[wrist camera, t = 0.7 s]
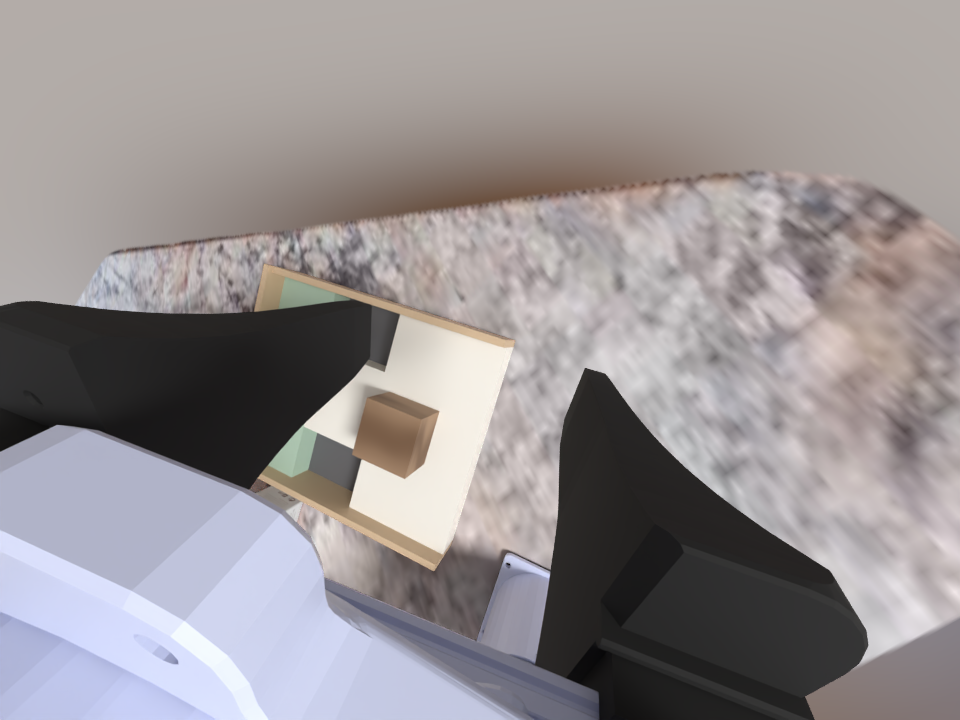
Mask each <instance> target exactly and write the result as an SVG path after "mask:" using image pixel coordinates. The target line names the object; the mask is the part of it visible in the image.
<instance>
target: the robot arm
mask: <svg viewBox="0 0 960 720" xmlns="http://www.w3.org/2000/svg"><path fill="white" fill-rule="evenodd" d="M371 317H372V305H370V304H366V303H363V302H359V301H356V300H345V301H335V302H327V303H320V304H313V305H306V306H299V307H291V308H283V309H274V310H266V311H256V312H244V313H224V314H167V313H147V312H132V311H118V310H107V309H97V308H89V307H80V306H71V305H63V304H55V303H47V302H40V301H25V302H15V303H11V304H7V305H3V306H0V720H814V717H813V715H812V712H811V710H810V708H809V705H808V703H807V700H806V698H805V696H807V695H808V694H810V693H812V692H814V691H816V690H818V689H819V688H821V687H823V686H825V685H827V684H828V683H830V682H832V681H834V680H836V679H838V678H839V677H841V676H843V675H845V674H846V673H848V672H849V671H850V670H851V669H853V668H854V667H855V666H857V665H858V664H859V663H860V661H861V660H862V658H863V656H864V654H865V652H866V650H867V647H868V639H867V632H866V629H865V627H864V626H863V624H862V623H861V621H860V619H859V618H858V616H857V614H856V613H855V611H854V609H853V608H852V606H851V604H850V603H849V601H848V599H847V598H846V596H845V595H844V593H843V591H842V590H841V588H840V586H839V585H838V583H837V581H836V580H835V578H834V576H833V575H832V573H831V572H830V571H829V570H828V569H826V568H825V567H823V566H822V565H820V564H818V563H817V562H815V561H814V560H812V559H811V558H809V557H807V556H806V555H804V554H803V553H801V552H800V551H798V550H796V549H795V548H793V547H792V546H790V545H789V544H787V543H785V542H784V541H782V540H781V539H779V538H778V537H776V536H774V535H773V534H771V533H770V532H768V531H767V530H765V529H764V528H762V527H761V526H760V525H758V524H757V523H755V522H754V521H753V520H751V519H750V518H748V517H747V516H746V515H744V514H743V513H741V512H740V511H739V510H737V509H736V508H734V507H733V506H732V505H730V504H729V503H728V502H727V501H725V500H724V499H723V498H721V497H720V496H719V495H717V494H716V493H715V492H714V491H712V490H711V489H710V488H709V487H708V486H706V485H705V484H704V483H703V482H702V481H700V480H699V479H698V478H697V477H696V476H694V475H693V474H692V473H691V472H690V471H689V470H688V469H686V468H685V467H684V466H683V465H682V464H681V463H680V462H679V461H678V460H677V459H676V458H675V457H674V456H673V455H672V454H671V453H670V452H669V451H668V450H667V449H665V448H664V447H663V446H662V444H661V443H660V442H659V441H658V440H657V439H656V438H655V437H654V436H653V435H652V434H651V432H650V431H649V430H648V429H647V428H646V427H645V425H644V424H643V423H642V422H641V421H640V419H639V418H638V417H637V416H636V415H635V413H634V412H633V411H632V409H631V408H630V407H629V405H628V404H627V403H626V401H625V400H624V399H623V397H622V396H621V394H620V393H619V392H618V390H617V389H616V387H615V386H614V385H613V383H612V382H611V381H610V379H609V378H608V377H607V375H606V374H604V373H601V372H597V371H594V370H591V369H587V368H585V370H584V372H583V374H582V377H581V379H580V382H579V384H578V387H577V389H576V392H575V394H574V397H573V399H572V402H571V404H570V407H569V409H568V412H567V414H566V417H565V419H564V425H563V431H562V437H561V443H560V463H559V504H558V520H557V529H556V536H555V543H554V551H553V558H552V565H551V571H548V570H546V569H544V568H542V567H539V566H537V565H535V564H533V563H531V562H529V561H527V560H525V559H523V558H521V557H519V556H517V555H515V554H512V553H507V554H506V555H505V557H504V560H503V563H502V566H501V569H500V572H499V575H498V578H497V581H496V584H495V587H494V590H493V593H492V596H491V599H490V602H489V605H488V608H487V611H486V614H485V617H484V619H483V622H482V625H481V628H480V631H479V634H478V637H477V641H475V640H473V639H471V638H468V637H466V636H463V635H461V634H459V633H456V632H454V631H451V630H449V629H447V628H444V627H442V626H440V625H437V624H435V623H432V622H430V621H428V620H425V619H423V618H420V617H418V616H416V615H413V614H411V613H408V612H406V611H404V610H401V609H399V608H397V607H394V606H392V605H389V604H387V603H385V602H382V601H380V600H377V599H375V598H373V597H370V596H368V595H366V594H363V593H361V592H358V591H356V590H354V589H351V588H349V587H346V586H344V585H342V584H339V583H337V582H334V581H332V580H330V579H327V578H325V577H324V572H323V566H322V561H321V559H320V556H319V554H318V552H317V550H316V547H315V545H314V543H313V540H312V538H311V536H310V535H309V534H308V533H307V532H306V531H305V530H304V529H303V528H302V527H301V526H300V525H299V524H298V523H297V522H296V521H295V520H294V519H293V518H292V517H291V516H290V515H289V514H288V513H287V512H286V511H285V510H283V509H282V508H280V507H278V506H276V505H275V504H273V503H271V502H269V501H268V500H266V499H264V498H262V497H261V496H259V495H257V494H255V493H254V492H252V491H250V490H249V489H250V487H251V486H252V485H253V483H254V482H255V481H256V479H257V478H258V477H259V476H260V474H261V473H262V472H263V471H264V469H265V468H266V467H267V466H268V465H269V463H270V462H271V461H272V460H273V459H274V457H275V456H276V455H277V454H278V452H279V451H280V450H281V449H282V448H283V447H284V446H285V444H286V443H287V442H288V441H289V440H290V439H291V438H292V437H293V435H294V434H295V433H296V432H297V431H298V430H299V429H300V428H301V427H302V426H303V425H304V424H305V423H306V422H307V421H308V420H309V419H310V418H311V417H312V416H313V415H314V414H315V413H316V412H318V411H319V410H320V409H321V408H322V407H323V406H324V405H325V404H326V403H327V402H329V401H330V400H331V399H332V398H333V397H334V396H335V395H336V394H337V393H339V392H340V391H341V390H342V389H343V388H344V387H345V386H346V385H347V384H348V383H349V382H350V381H351V380H352V379H353V378H354V377H355V376H356V375H357V374H358V373H359V371H360V370H361V369H362V368H363V366H364V365H365V364H366V362H367V361H368V360H369V358H370V349H371ZM506 563H510V566H508V565H507V564H506ZM484 630H485V631H484Z"/></svg>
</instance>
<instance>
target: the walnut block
mask: <svg viewBox="0 0 960 720" xmlns="http://www.w3.org/2000/svg"><path fill="white" fill-rule="evenodd" d="M439 412H440V411H438V410H435V409H433V408H430V407H428V406H425V405H423V404H420V403H418V402H415V401H413V400H410V399H407V398H405V397H402V396H400V395H397V394H395V393H392V392H387V393H383V394H379V395H375V396H371V397H367V399H366V403H365V407H364V411H363V414H362V418H361V422H360V426H359V430H358V433H357V437H356V441H355V445H354V449H353V453H352V455H354V456H356V457H358V458H360V459H362V460H364V461H367V462H369V463H371V464H373V465H375V466H377V467H379V468H382V469H384V470H386V471H388V472H390V473H392V474H395V475H397V476H399V477H401V478H403V479H405V478H407V477H408V476H409V475H411V474H412V473H413V472H415V471H416V470H417V469H418V468H420V467H421V466H422V465H424V463H425V459H426V456H427V453H428V449H429V446H430V442H431V439H432V436H433V432H434V429H435V425H436V422H437V418H438V415H439Z"/></svg>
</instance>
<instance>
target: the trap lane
mask: <svg viewBox="0 0 960 720" xmlns="http://www.w3.org/2000/svg"><path fill="white" fill-rule="evenodd" d="M345 300H356V301H359V302H363V303H366V304H370V305H372V317H371V349H370V358H369V360H368V361H367V362H366V364H365V365H364V366H363V368H362V369H361V370H360V371H359V373H358V374H357V375H356V376H355V377H354V378H353V379H352V380H351V381H350V382H349V383H348V384H347V385H346V386H345V387H344V388H343V389H342V390H341V391H340V392H339V393H337V394H336V395H335V396H334V397H333V398H332V399H331V400H330V401H329V402H327V403H326V404H325V405H324V406H323V407H322V408H321V409H320V410H319V411H318V412H316V413H315V414H314V415H313V416H312V417H311V418H310V419H309V420H308V421H307V422H306V423H305V424H304V425H303V426H302V427H301V428H300V429H299V430H298V431H297V432H296V433H295V434H294V435H293V437H292V438H291V439H290V440H289V441H288V442H287V443H286V444H285V446H284V447H283V448H282V449H281V450H280V451H279V452H278V454H277V455H276V456H275V457H274V459H273V460H272V461H271V462H270V463H269V465H268V466H267V467H266V468H265V469H264V471H263V472H262V473H261V474H260V476H259V477H258V479H260V480H262V481H264V482H266V483H268V484H269V485H271V486H273V487H275V488H277V489H279V490H281V491H283V492H285V493H286V494H288V495H290V496H292V497H294V498H296V499H298V500H300V501H302V502H303V503H305V504H307V505H309V506H311V507H313V508H315V509H317V510H319V511H321V512H322V513H324V514H326V515H328V516H330V517H332V518H334V519H336V520H338V521H339V522H341V523H343V524H345V525H347V526H349V527H351V528H353V529H355V530H356V531H358V532H360V533H362V534H364V535H366V536H368V537H370V538H372V539H374V540H375V541H377V542H379V543H381V544H383V545H385V546H387V547H389V548H391V549H392V550H394V551H396V552H398V553H400V554H402V555H404V556H406V557H408V558H409V559H411V560H413V561H415V562H417V563H419V564H421V565H423V566H425V567H427V568H428V569H430V570H432V571H435V569H436V568H437V566H438V565H439V563H440V562H441V560H442V558H443V557H444V555H445V554H446V552H447V551H448V549H449V548H450V546H451V544H452V541H453V538H454V535H455V532H456V528H457V525H458V522H459V519H460V516H461V512H462V509H463V506H464V503H465V500H466V497H467V493H468V490H469V487H470V484H471V481H472V477H473V474H474V471H475V468H476V465H477V461H478V458H479V455H480V452H481V449H482V446H483V442H484V439H485V436H486V433H487V430H488V426H489V423H490V420H491V417H492V414H493V411H494V407H495V404H496V401H497V398H498V395H499V391H500V388H501V385H502V382H503V379H504V376H505V372H506V369H507V366H508V363H509V360H510V356H511V353H512V350H513V347H514V344H515V340H512V339H509V338H506V337H503V336H500V335H497V334H493V333H490V332H487V331H484V330H481V329H478V328H474V327H471V326H468V325H465V324H462V323H459V322H455V321H452V320H449V319H446V318H443V317H440V316H437V315H433V314H430V313H427V312H424V311H421V310H418V309H414V308H411V307H408V306H405V305H402V304H399V303H395V302H392V301H389V300H386V299H383V298H380V297H376V296H373V295H370V294H367V293H364V292H361V291H358V290H354V289H351V288H348V287H345V286H342V285H339V284H335V283H332V282H329V281H326V280H323V279H320V278H316V277H313V276H310V275H307V274H304V273H300V272H296V271H292V270H288V269H284V268H280V267H276V266H272V265H268V264H264V267H263V271H262V276H261V281H260V286H259V291H258V295H257V300H256V305H255V310H254V312H256V311H266V310H274V309H283V308H291V307H299V306H306V305H313V304H320V303H327V302H335V301H345ZM387 392H392V393H395V394H397V395H400V396H402V397H405V398H407V399H410V400H413V401H415V402H418V403H420V404H423V405H425V406H428V407H430V408H433V409H435V410H438V411H440V412H439V415H438V418H437V422H436V425H435V429H434V432H433V436H432V439H431V442H430V446H429V449H428V453H427V456H426V459H425V463H424V465H422V466H421V467H420V468H418V469H417V470H416V471H415V472H413V473H412V474H411V475H409V476H408V477H407V478H405V479H403V478H401V477H399V476H397V475H395V474H392V473H390V472H388V471H386V470H384V469H382V468H379V467H377V466H375V465H373V464H371V463H369V462H367V461H364V460H362V459H360V458H358V457H356V456H354V455H352V453H353V449H354V445H355V441H356V437H357V433H358V430H359V426H360V422H361V418H362V414H363V411H364V407H365V403H366V399H367V397H371V396H375V395H379V394H383V393H387Z"/></svg>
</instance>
